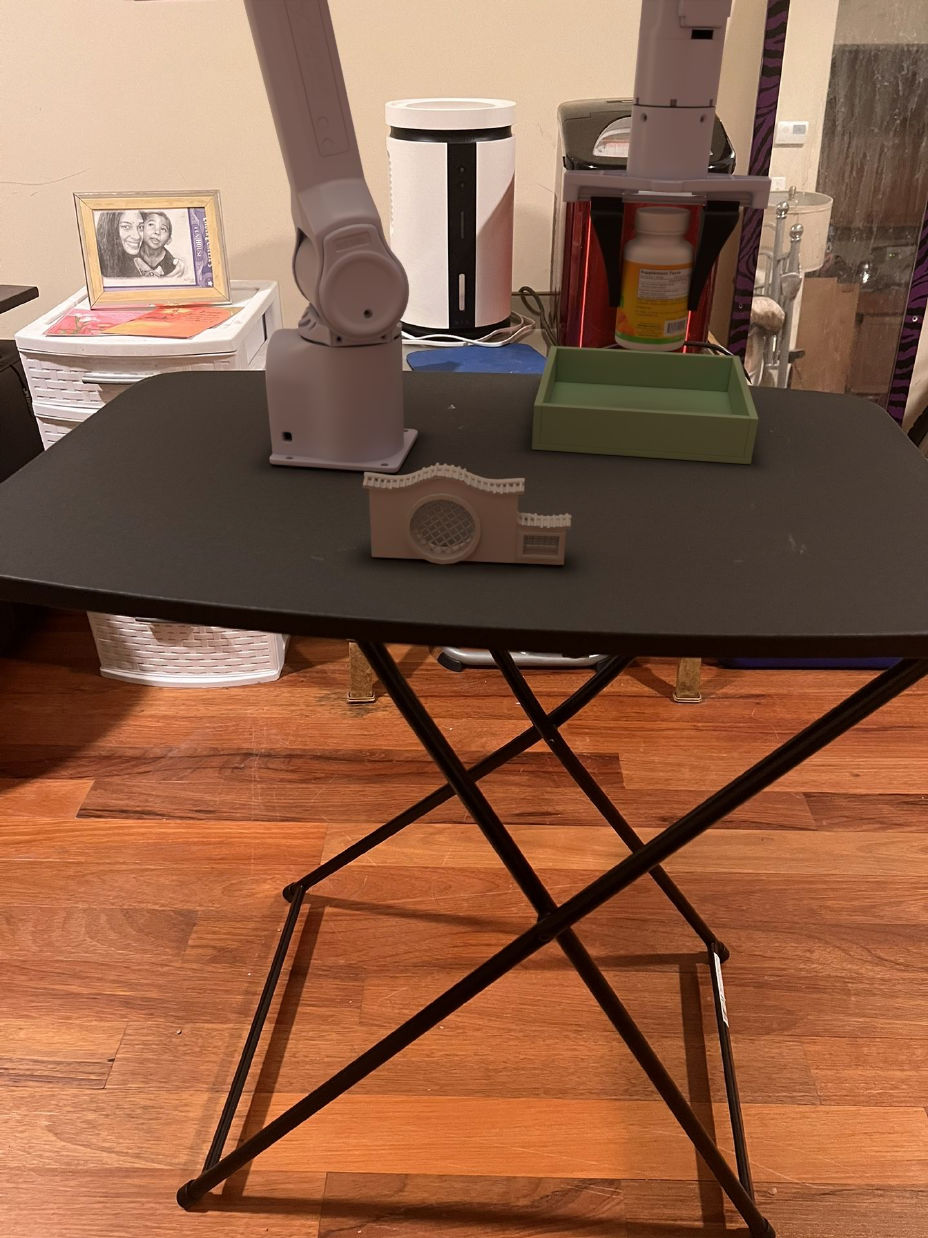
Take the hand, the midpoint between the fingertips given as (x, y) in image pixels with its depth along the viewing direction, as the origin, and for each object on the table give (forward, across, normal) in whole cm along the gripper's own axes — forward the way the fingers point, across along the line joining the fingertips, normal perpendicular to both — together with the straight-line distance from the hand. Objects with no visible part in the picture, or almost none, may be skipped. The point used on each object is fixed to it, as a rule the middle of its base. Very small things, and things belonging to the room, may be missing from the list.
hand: (652, 306), depth 74 cm
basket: (+9, 0, 0) cm, 9 cm away
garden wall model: (+9, -10, -26) cm, 30 cm away
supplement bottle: (+3, 0, 0) cm, 3 cm away
